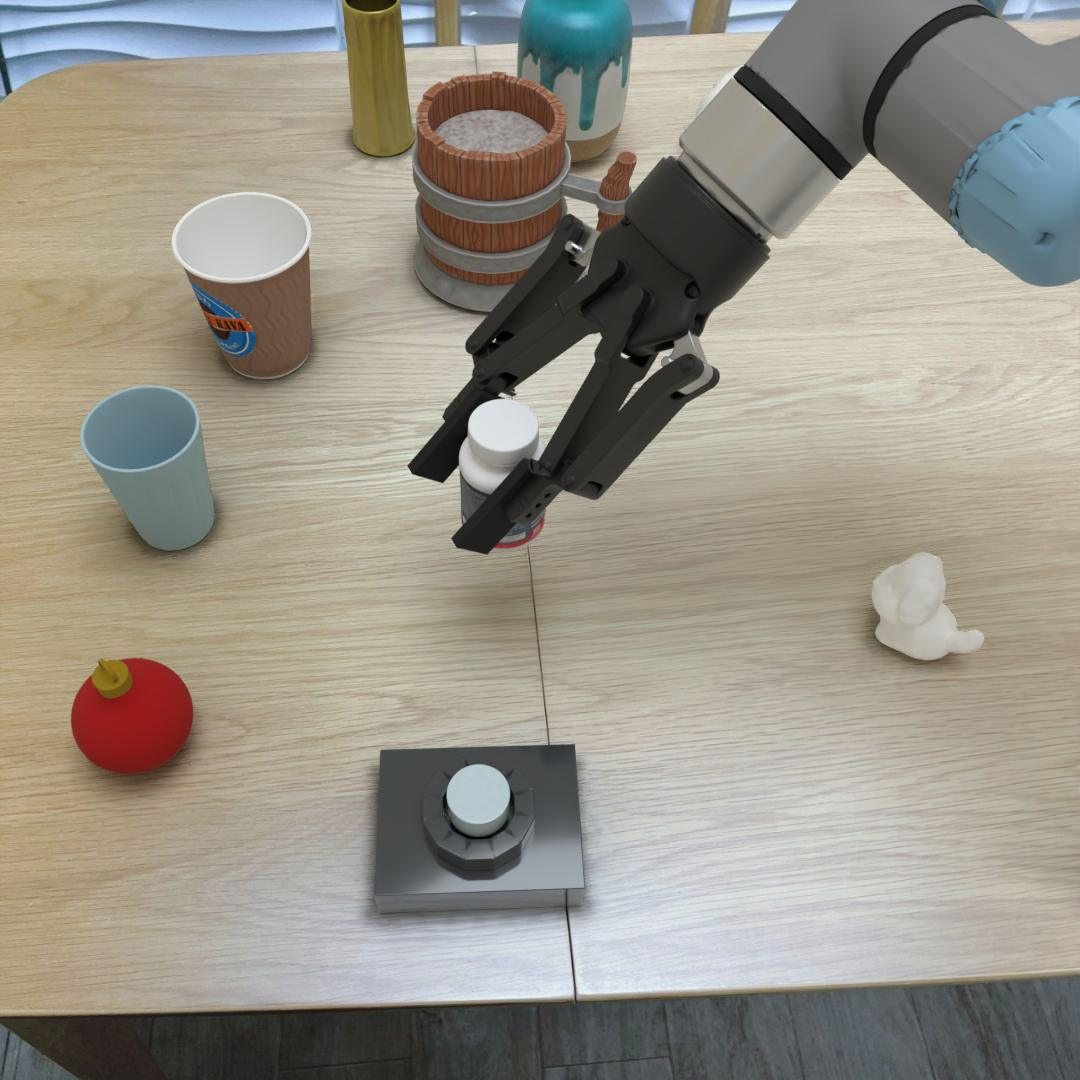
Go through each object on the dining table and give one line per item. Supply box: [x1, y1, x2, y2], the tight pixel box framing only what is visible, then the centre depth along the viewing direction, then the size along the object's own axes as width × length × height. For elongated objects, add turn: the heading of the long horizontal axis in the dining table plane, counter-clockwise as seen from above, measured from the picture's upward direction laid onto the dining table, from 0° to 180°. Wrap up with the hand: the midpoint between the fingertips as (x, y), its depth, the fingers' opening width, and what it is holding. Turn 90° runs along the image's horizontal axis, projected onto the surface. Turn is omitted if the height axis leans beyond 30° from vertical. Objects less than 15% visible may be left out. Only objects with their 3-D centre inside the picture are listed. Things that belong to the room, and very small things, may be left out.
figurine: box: [871, 551, 985, 661], centre depth 74 cm, size 5×8×8 cm
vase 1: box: [341, 0, 415, 157], centre depth 103 cm, size 6×6×14 cm
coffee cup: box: [171, 191, 313, 380], centre depth 86 cm, size 10×10×12 cm
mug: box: [411, 70, 638, 313], centre depth 92 cm, size 14×19×15 cm
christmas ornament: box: [70, 657, 194, 775], centre depth 66 cm, size 7×7×10 cm
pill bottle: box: [458, 398, 547, 553], centre depth 64 cm, size 5×5×9 cm
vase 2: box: [516, 0, 634, 163], centre depth 101 cm, size 11×11×19 cm
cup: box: [79, 384, 216, 552], centre depth 76 cm, size 8×8×10 cm
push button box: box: [373, 743, 586, 914], centre depth 65 cm, size 12×9×5 cm
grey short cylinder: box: [447, 764, 510, 837], centre depth 63 cm, size 4×4×2 cm
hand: (447, 509), depth 64 cm, fingers closed on pill bottle, 5 cm apart
